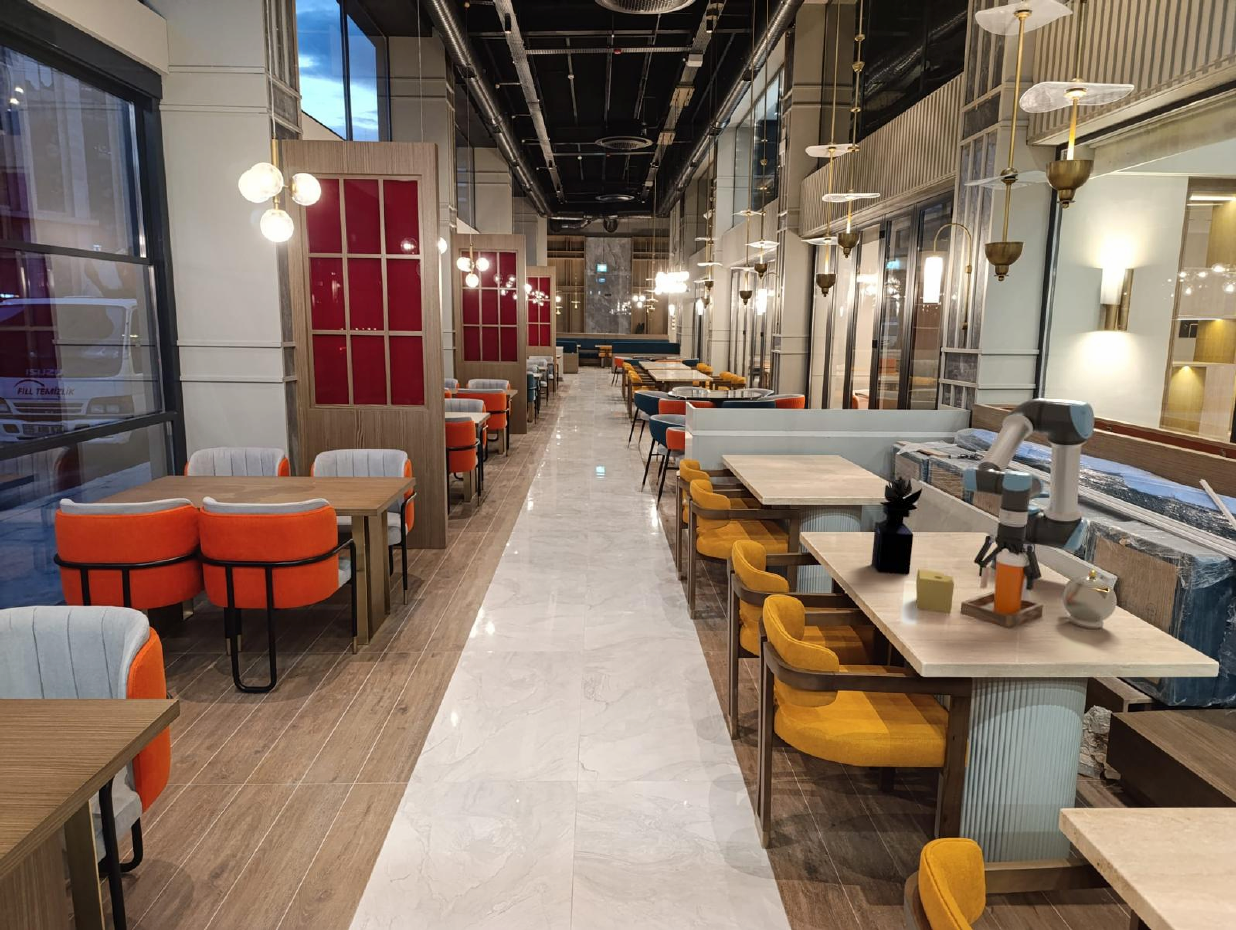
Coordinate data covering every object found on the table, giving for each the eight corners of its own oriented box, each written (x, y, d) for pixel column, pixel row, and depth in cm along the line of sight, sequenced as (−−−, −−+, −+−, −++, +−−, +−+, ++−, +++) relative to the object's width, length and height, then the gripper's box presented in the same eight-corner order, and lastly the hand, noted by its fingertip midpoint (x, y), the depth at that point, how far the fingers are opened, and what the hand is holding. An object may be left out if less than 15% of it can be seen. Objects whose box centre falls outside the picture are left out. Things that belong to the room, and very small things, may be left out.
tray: (993, 601, 253) (994, 590, 252) (1041, 615, 241) (1043, 604, 241) (960, 613, 241) (961, 602, 240) (1009, 629, 229) (1010, 617, 229)
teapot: (1125, 634, 229) (1133, 579, 226) (1080, 633, 228) (1087, 578, 225) (1084, 611, 246) (1091, 560, 244) (1042, 611, 245) (1049, 560, 243)
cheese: (949, 603, 250) (952, 572, 249) (951, 614, 240) (955, 582, 239) (914, 598, 254) (917, 568, 252) (915, 609, 244) (918, 577, 242)
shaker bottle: (1026, 618, 235) (1035, 553, 231) (994, 615, 236) (1002, 550, 233) (1017, 608, 244) (1025, 545, 240) (986, 605, 245) (994, 542, 242)
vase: (909, 565, 290) (918, 470, 284) (917, 575, 278) (928, 476, 272) (868, 563, 291) (877, 468, 285) (876, 572, 280) (885, 474, 273)
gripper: (967, 516, 243) (959, 584, 247) (1048, 534, 225) (1038, 607, 228) (979, 513, 248) (971, 580, 252) (1060, 531, 229) (1050, 602, 233)
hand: (1003, 593), depth 240 cm, fingers open, 12 cm apart
